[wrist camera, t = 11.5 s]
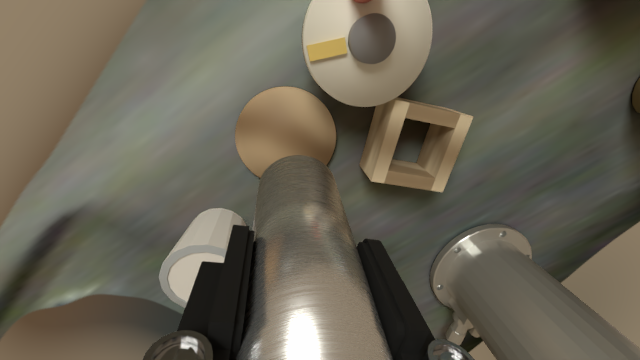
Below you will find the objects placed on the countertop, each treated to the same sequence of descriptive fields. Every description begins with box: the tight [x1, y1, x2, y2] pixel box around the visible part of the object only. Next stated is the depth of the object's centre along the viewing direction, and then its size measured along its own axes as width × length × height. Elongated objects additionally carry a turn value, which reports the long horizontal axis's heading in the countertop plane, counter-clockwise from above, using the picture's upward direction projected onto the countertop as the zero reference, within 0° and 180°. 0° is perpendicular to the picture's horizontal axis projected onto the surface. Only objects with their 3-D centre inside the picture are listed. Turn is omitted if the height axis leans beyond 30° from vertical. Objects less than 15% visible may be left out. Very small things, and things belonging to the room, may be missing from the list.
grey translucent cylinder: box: [236, 155, 393, 360], centre depth 10 cm, size 4×4×11 cm
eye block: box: [360, 97, 473, 192], centre depth 27 cm, size 7×7×4 cm
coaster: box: [235, 86, 336, 178], centre depth 27 cm, size 9×9×1 cm
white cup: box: [159, 208, 247, 308], centre depth 27 cm, size 7×7×7 cm
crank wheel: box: [302, 0, 432, 107], centre depth 18 cm, size 9×9×8 cm
